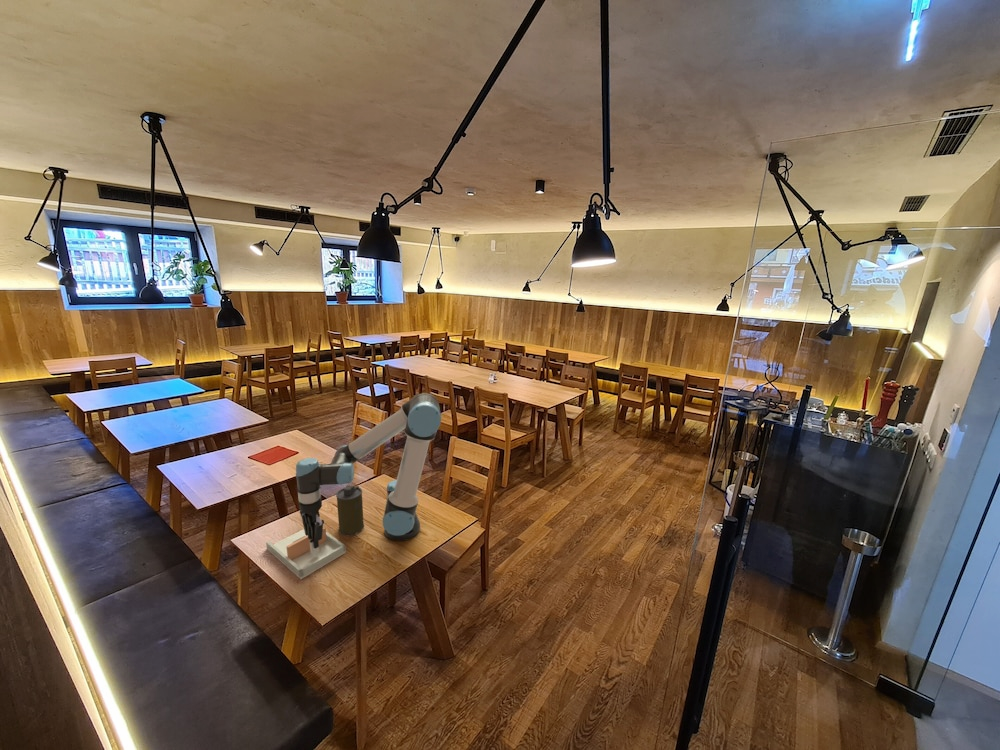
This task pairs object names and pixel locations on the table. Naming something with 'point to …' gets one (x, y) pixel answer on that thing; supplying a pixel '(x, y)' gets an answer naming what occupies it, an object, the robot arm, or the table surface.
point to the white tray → (306, 554)
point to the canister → (350, 510)
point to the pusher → (302, 545)
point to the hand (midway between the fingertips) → (315, 553)
